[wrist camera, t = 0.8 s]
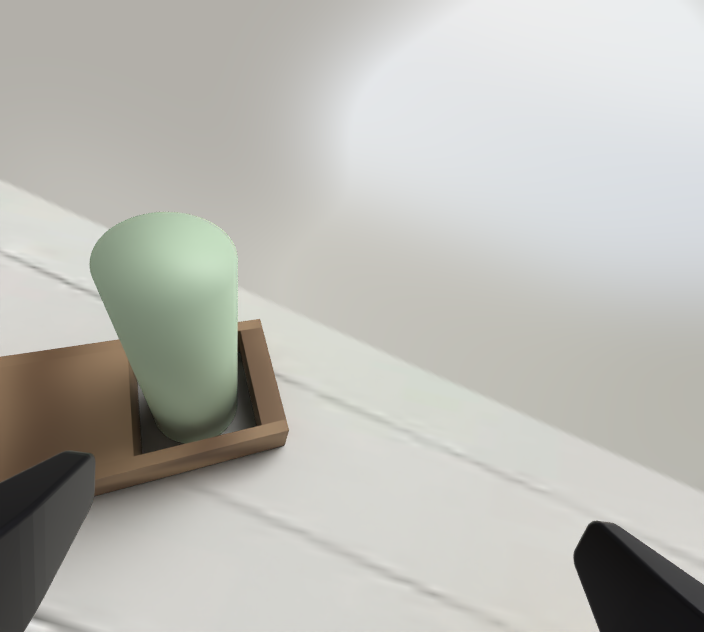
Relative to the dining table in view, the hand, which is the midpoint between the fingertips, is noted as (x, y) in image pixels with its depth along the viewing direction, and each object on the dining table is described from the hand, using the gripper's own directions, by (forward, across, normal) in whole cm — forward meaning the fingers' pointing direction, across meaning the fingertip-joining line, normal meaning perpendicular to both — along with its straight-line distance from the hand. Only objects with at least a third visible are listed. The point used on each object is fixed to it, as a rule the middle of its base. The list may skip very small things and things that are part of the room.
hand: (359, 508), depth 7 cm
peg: (+15, +6, +8) cm, 18 cm away
